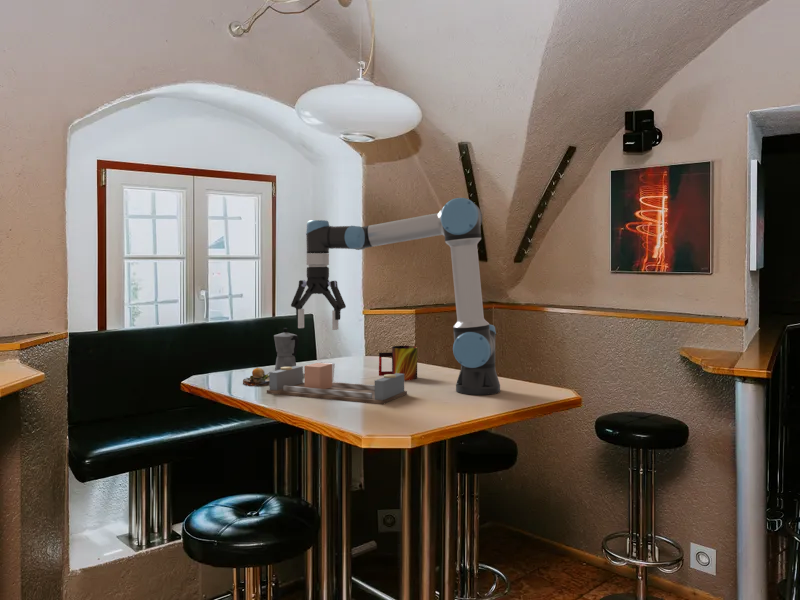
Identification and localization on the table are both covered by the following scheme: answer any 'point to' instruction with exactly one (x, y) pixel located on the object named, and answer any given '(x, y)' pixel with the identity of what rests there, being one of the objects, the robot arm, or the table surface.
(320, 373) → the salmon pink box
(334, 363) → the white cup
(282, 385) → the knobbed grey end panels
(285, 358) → the coffeepot
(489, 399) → the table surface
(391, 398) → the rail track
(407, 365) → the mug
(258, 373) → the burger
